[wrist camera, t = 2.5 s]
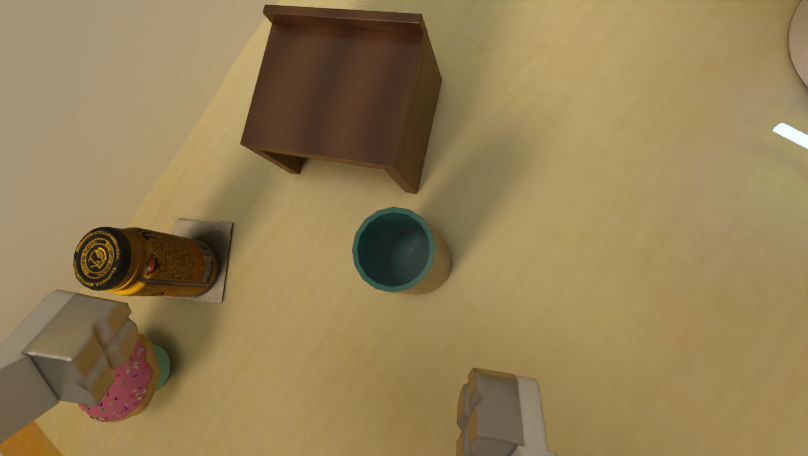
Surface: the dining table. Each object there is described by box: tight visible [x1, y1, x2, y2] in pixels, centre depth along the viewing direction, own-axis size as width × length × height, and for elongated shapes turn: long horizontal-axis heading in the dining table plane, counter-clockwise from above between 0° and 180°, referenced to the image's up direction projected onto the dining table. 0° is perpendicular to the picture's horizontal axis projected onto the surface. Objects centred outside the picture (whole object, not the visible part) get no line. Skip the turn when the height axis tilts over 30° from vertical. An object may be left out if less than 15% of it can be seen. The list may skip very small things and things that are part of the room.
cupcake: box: [78, 333, 170, 423], centre depth 42 cm, size 9×8×12 cm
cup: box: [352, 207, 452, 294], centre depth 38 cm, size 6×6×10 cm
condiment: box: [73, 220, 232, 303], centre depth 42 cm, size 7×8×12 cm
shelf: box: [240, 5, 442, 194], centre depth 41 cm, size 14×12×11 cm
